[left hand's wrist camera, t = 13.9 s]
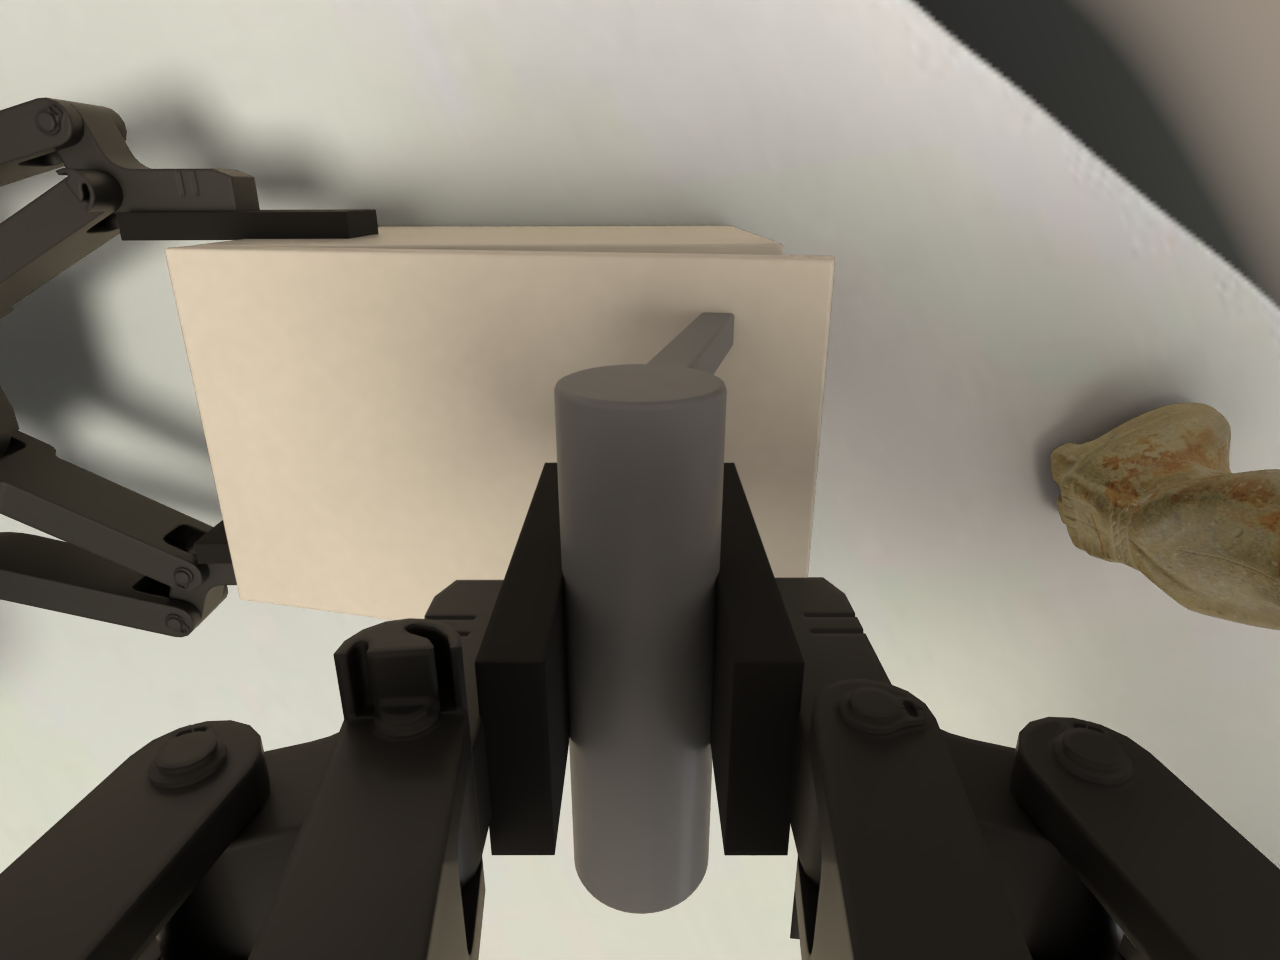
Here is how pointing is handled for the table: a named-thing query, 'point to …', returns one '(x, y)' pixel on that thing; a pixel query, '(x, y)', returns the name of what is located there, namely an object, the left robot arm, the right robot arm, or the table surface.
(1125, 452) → the sculpture
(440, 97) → the table surface
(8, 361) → the table surface
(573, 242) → the chest
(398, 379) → the lid
